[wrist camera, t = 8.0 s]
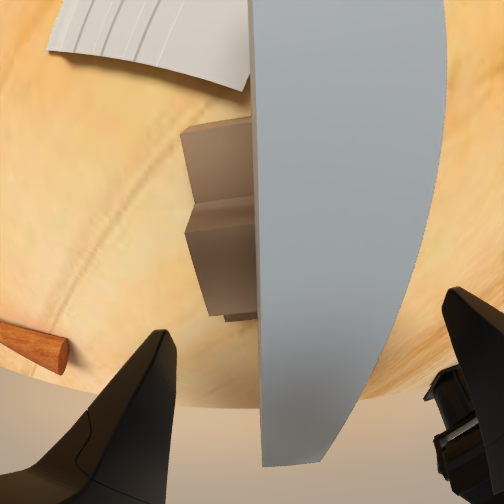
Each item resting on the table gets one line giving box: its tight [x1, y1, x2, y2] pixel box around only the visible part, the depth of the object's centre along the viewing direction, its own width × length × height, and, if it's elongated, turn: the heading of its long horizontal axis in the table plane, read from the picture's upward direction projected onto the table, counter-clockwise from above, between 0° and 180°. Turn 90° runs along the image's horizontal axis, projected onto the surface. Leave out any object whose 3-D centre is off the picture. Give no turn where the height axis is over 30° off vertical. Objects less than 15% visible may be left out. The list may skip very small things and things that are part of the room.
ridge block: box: [180, 117, 258, 322], centre depth 13 cm, size 10×8×4 cm
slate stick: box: [247, 0, 447, 467], centre depth 9 cm, size 24×4×4 cm, turn 2°
